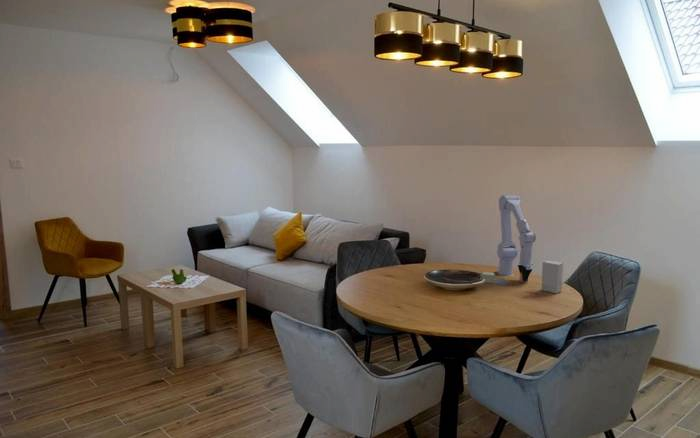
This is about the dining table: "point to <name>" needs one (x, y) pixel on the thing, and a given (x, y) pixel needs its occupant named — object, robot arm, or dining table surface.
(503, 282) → the charcoal mat
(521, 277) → the rounded pink dome
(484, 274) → the sage slab
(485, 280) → the birch slab
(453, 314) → the dining table surface
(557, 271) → the skincare box
